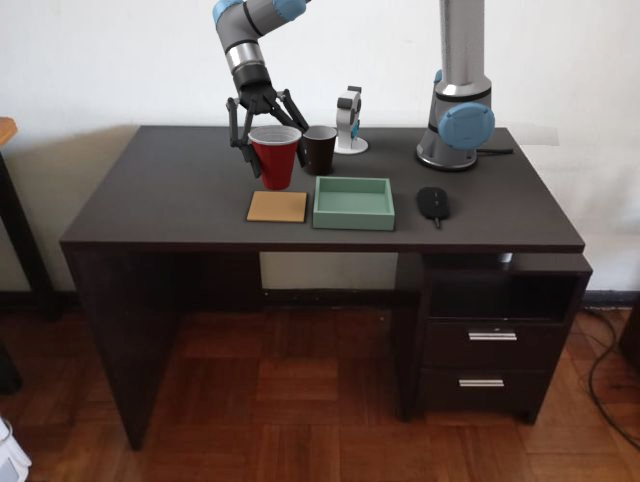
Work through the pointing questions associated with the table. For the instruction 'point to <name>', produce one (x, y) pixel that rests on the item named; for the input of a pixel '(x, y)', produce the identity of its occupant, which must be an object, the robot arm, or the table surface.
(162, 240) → the table surface
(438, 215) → the gaming mouse
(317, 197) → the tray
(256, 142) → the plastic cup
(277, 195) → the cork mat
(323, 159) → the coffee mug
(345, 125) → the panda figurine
